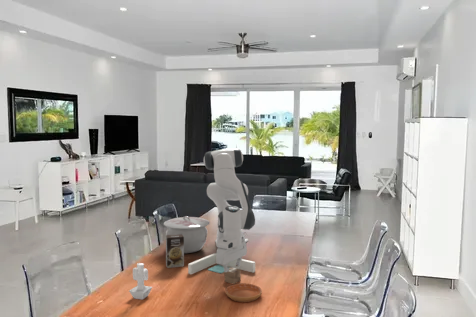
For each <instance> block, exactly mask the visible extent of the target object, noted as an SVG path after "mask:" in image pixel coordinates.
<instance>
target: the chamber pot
mask: <svg viewBox="0 0 476 317" xmlns="http://www.w3.org/2000/svg"><path fill="white" fill-rule="evenodd" d="M210 223H211V222H210V220H208V219H206V218H203V217H196V216H187V215H185V216H183V217H182V216H181V217H180V216H179V217H175V218H171V219H168V220H166V221H164V222H163V226H164V227H166V228H167V229H166V231H165V236H166V235H177V234H182V235H183V236H184V254H192V253H196V252H198V251H200V250H202V248H203V247H204V246H205V244H206V242H207V239H208V238H207V236H208V229H207V226H209V225H210Z"/></svg>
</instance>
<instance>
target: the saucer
mask: <svg viewBox="0 0 476 317" xmlns="http://www.w3.org/2000/svg"><path fill="white" fill-rule="evenodd" d="M262 293H263V289H262V288H261V287H259V285H256V284H253V283H235V284H232V285H229V286H228V287H226V288H225V294H226V296H227V297H228V298H229V299H231V300H232V301H234V302H238V303H239V302H240V303H248V302H249V303H251V302H253V301H256V300H257V299H258V298H260V296H262Z"/></svg>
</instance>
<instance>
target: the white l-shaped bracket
mask: <svg viewBox="0 0 476 317" xmlns="http://www.w3.org/2000/svg"><path fill="white" fill-rule="evenodd" d="M236 262H237V259H236V260H234V261H231V262H229V263H228V265H227V267H230V268H231V267H232V268H237V269H240V270H241V271H245V272H249V273H252V274H253V273H255V272H256V261H253V260H247V259H244V258H242V260H241V262H240V266H239V267H237V266H236ZM187 265H188V266H187V268H188V270H187V274H188V275H193V274H196V273H198V272H200V271H202V270H205V269H207V268H210V266H215V265H219V264H218V263H217V261H216V252H214V253H211V254H209V255H206V256H204V257H202V258H200V259H196V260H194V261H192V262H190V263H188V264H187Z"/></svg>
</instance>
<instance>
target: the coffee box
mask: <svg viewBox="0 0 476 317" xmlns="http://www.w3.org/2000/svg"><path fill="white" fill-rule="evenodd" d="M165 266H166V268H167V269H170V268H179V267H184V266H185V253H184V236H183V235H182V234H177V235H166V234H165Z"/></svg>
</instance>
